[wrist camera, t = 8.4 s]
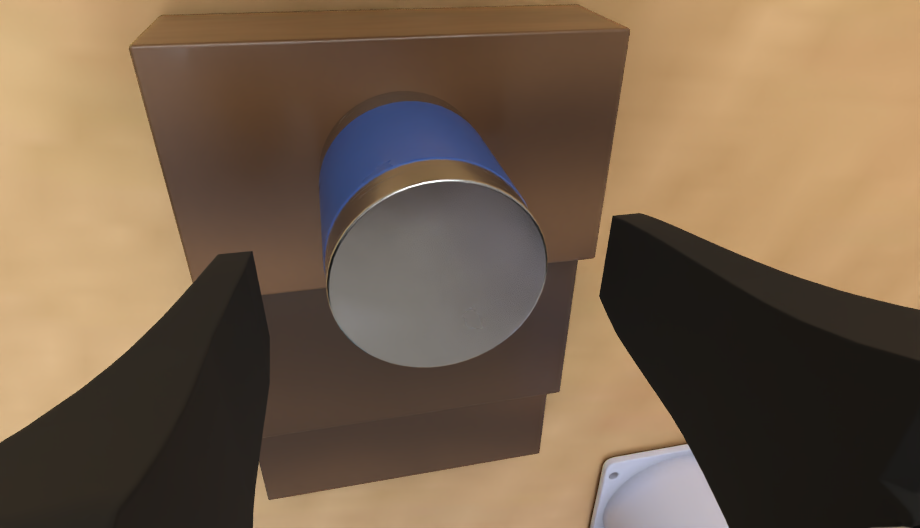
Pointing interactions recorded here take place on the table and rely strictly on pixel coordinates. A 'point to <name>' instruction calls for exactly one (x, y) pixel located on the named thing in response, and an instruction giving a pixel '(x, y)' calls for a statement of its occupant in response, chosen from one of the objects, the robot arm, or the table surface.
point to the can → (423, 234)
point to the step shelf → (299, 221)
